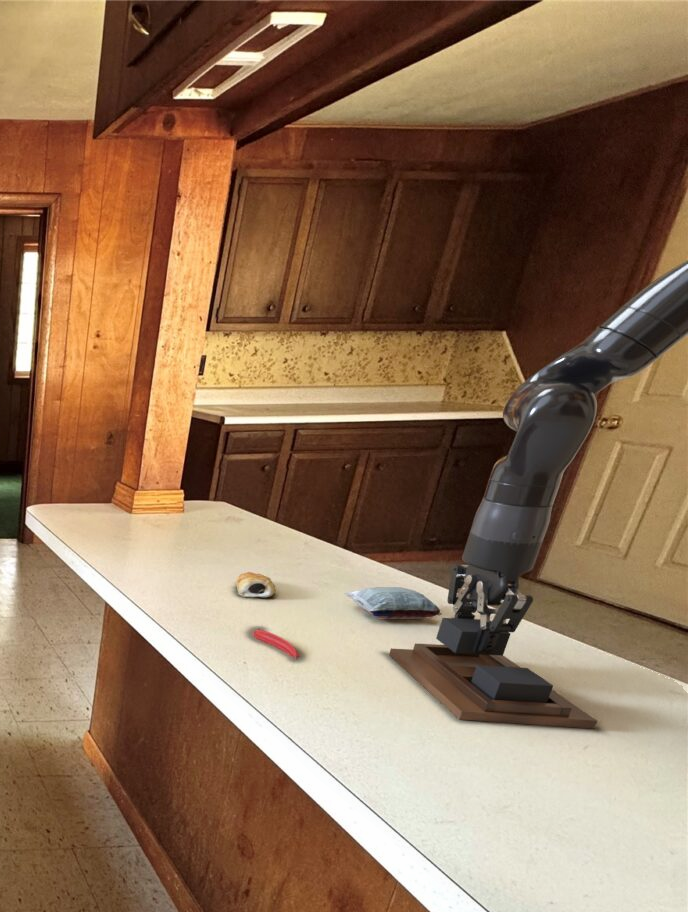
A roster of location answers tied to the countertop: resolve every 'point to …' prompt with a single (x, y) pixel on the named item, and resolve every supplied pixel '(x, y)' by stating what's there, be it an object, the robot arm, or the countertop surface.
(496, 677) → the dark grey block
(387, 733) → the countertop surface
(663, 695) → the countertop surface
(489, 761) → the countertop surface
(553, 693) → the brown base tray
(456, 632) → the dark gray block
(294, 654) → the cayenne pepper
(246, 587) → the pastry
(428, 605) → the packaged food
